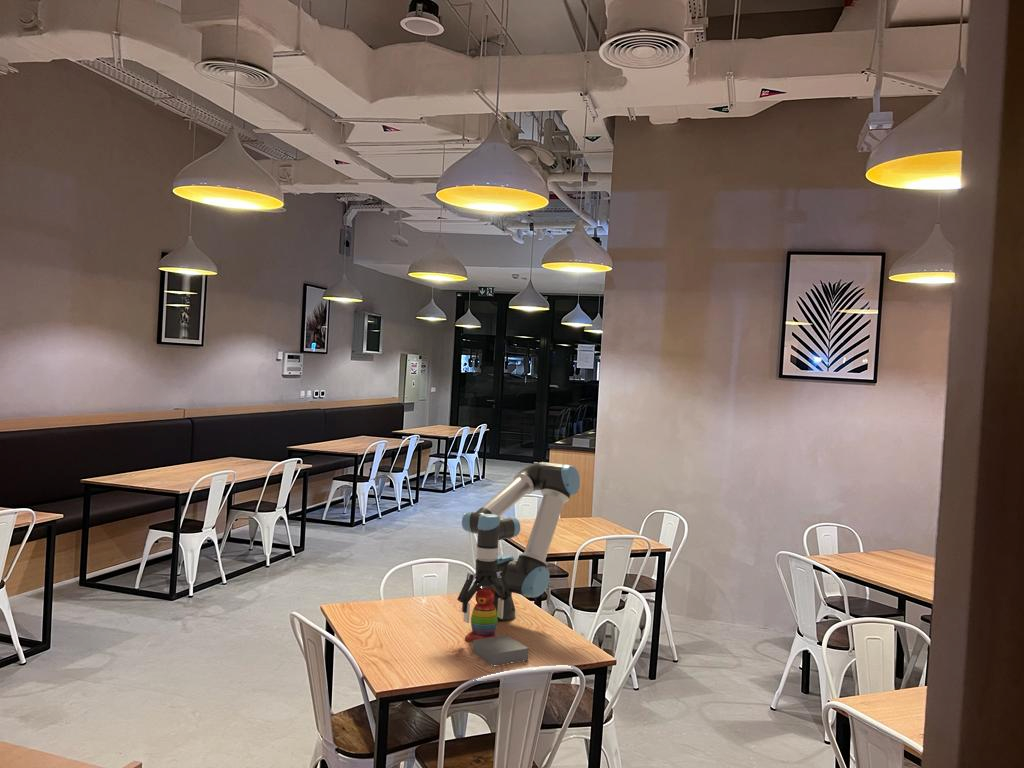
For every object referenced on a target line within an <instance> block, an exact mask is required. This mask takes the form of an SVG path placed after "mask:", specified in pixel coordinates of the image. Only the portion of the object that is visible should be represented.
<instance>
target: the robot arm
mask: <svg viewBox="0 0 1024 768" xmlns="http://www.w3.org/2000/svg"><path fill="white" fill-rule="evenodd" d="M580 479H581V478H580V473H579V471H578V469H577V467H576V466H574V465H570V464H566V463H556V462H547V461H546V462H545V461H541V462H540V461H539V462H535V463H533V464H530V465H528V466H526V467H525V468H523V469H521V470H520V471H519V472H518V473H516V474H515V475H514V477H513V480H512V481H511V482H509V483H508V484H507V485H506V486H504V487H503V488H502V489H501V490H500V491H499V492H498V493H496V494H495V495H494V496H493V497H492V498H490V499H489V500H488V501H487V502H486V503H485V504H483V505H482V506H481V507H480V508H479V509H477V511H475V512H474V511H467V512H465V514H463V516H462V518H461V527H462V529H463V531H465V532H469V533H471V534H474V535H475V534H477V540H476V541H477V542H476V560H475V573H474V574H473V573H470V572H468V573H467V574H466V580H465V582H464V585H463V587H462V588H461V591H460V593H458V597H457V601H459V603H462V605H461V612H462V613H463V620H462V621H463V622H464V623H466V624H469V623H470V612H471V603H470V601H471V599H472V598H473V597H474V595H476V593H477V590H478V589H479V588H489V589H494V601H493V603H492V604H493V605H494V606H495V608H496V612H497V618H498V621H497V622H503V621H509V620H513V619H514V618H516V608H515V603H514V599H513V595H512V594H517V595H521V596H524V597H527V598H528V597H530V598H538V597H540V596H542V594H544V593H545V591H546V590H547V588H548V586H549V583H550V579H551V578H550V576H551V575H550V574H551V573H550V571H549V569H548V566H549V565H548V563H547V561H546V559H547V556H548V553H549V550H550V546H551V545H552V544H551V543H552V541H553V537H554V534H555V532H556V529H557V525H558V522H559V519H560V516H561V513H562V509H563V507H564V504H565V503H568V502H569V500H570V498H571V496H574V495H576V494H577V493H578V492H579V490H580V482H581V480H580ZM535 491H540V493H541V494H542V499H541V501H540V504H539V505H540V506H539V508H538V511H537V513H536V517H535V519H534V523H533V526H532V529H531V531H530V534H529V538H528V540H527V543H526V545H525V549H524V552H523V553H521V554H519V555H518V557H517V560H515V557H514V556H513V555H512V554H498V553H499V541H501V540H507V539H512V538H515V537H517V536H518V535H519V534H520V532H521V524H520V521H519V520H518V518H516V517H514V516H507V517H503V515H504V514H505V513H507V512H508V511H509V510H510V509H511V508H512V507H513V506H514V505H515V504H517V503H518V502H519V501H520V500H521V499H522V498H524V497H525V496H527V495H531V494H532V493H533V492H535Z"/></svg>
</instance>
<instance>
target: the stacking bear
mask: <svg viewBox="0 0 1024 768" xmlns="http://www.w3.org/2000/svg"><path fill="white" fill-rule="evenodd" d="M474 599H475V602H476V604H475V605H474V607H473V609H472V613H471V617H470V624H471V625H470V626H471V631H470V632H468V633H467V634H466V635H465V637H464V641H466V642H469V643H473V640H477V639H483V638H490V637H496V636H497V634H496V631H497V626H498V622H499V621H498V618H497V612H496V608H495V606H494V605H493V604H492V603H493V601H494V589H489V588H482V587H480V588H479V589H478V590H477V591H476V593H475V598H474Z"/></svg>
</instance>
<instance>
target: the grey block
mask: <svg viewBox="0 0 1024 768" xmlns="http://www.w3.org/2000/svg"><path fill="white" fill-rule="evenodd" d="M529 649H530V648H529V647H528V646H526V645H524V644H522V643H521V642H520V641H517V640H516V639H514V638H512V637H511V636H509V635H508V634H504V635H498V636H497V635H496V637H490V638H483V639H477V640H473V642H472V653H473V654H474V655H476V656H477V657H479V658H481V659H482V660H483V661H484V662H486V663H488V664H489V663H490V664H492V665H493V666H494V665H500V666H503V665H502V664H505V665H508V664H507V663H511V662H517V663H519V662H518V661H522V662H524V661H523V660H528V661H529ZM490 664H489V665H490ZM511 664H512V663H511ZM492 665H491V666H492ZM493 666H492V667H493ZM494 667H495V666H494Z"/></svg>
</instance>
